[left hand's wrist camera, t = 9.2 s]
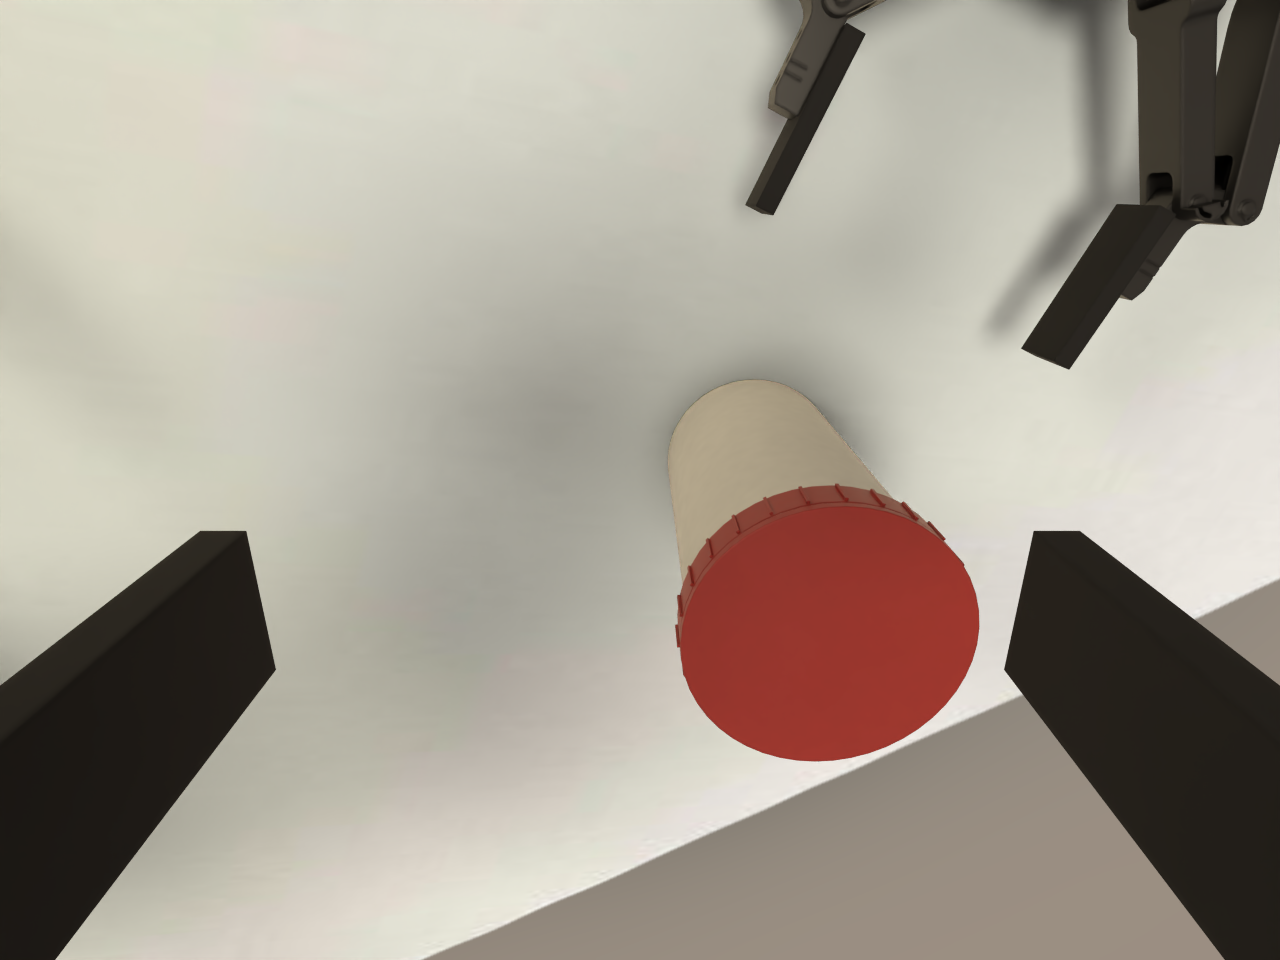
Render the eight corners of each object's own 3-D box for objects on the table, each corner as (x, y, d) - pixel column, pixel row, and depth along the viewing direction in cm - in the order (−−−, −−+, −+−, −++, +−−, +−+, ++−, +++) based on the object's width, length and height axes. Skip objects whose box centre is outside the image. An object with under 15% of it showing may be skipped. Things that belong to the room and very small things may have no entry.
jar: (710, 352, 37) (765, 468, 21) (861, 417, 38) (1016, 571, 23) (642, 499, 40) (647, 695, 24) (784, 555, 41) (876, 775, 25)
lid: (751, 437, 22) (761, 456, 21) (1015, 547, 24) (1042, 572, 22) (631, 676, 25) (630, 709, 24) (870, 760, 27) (885, 797, 25)
